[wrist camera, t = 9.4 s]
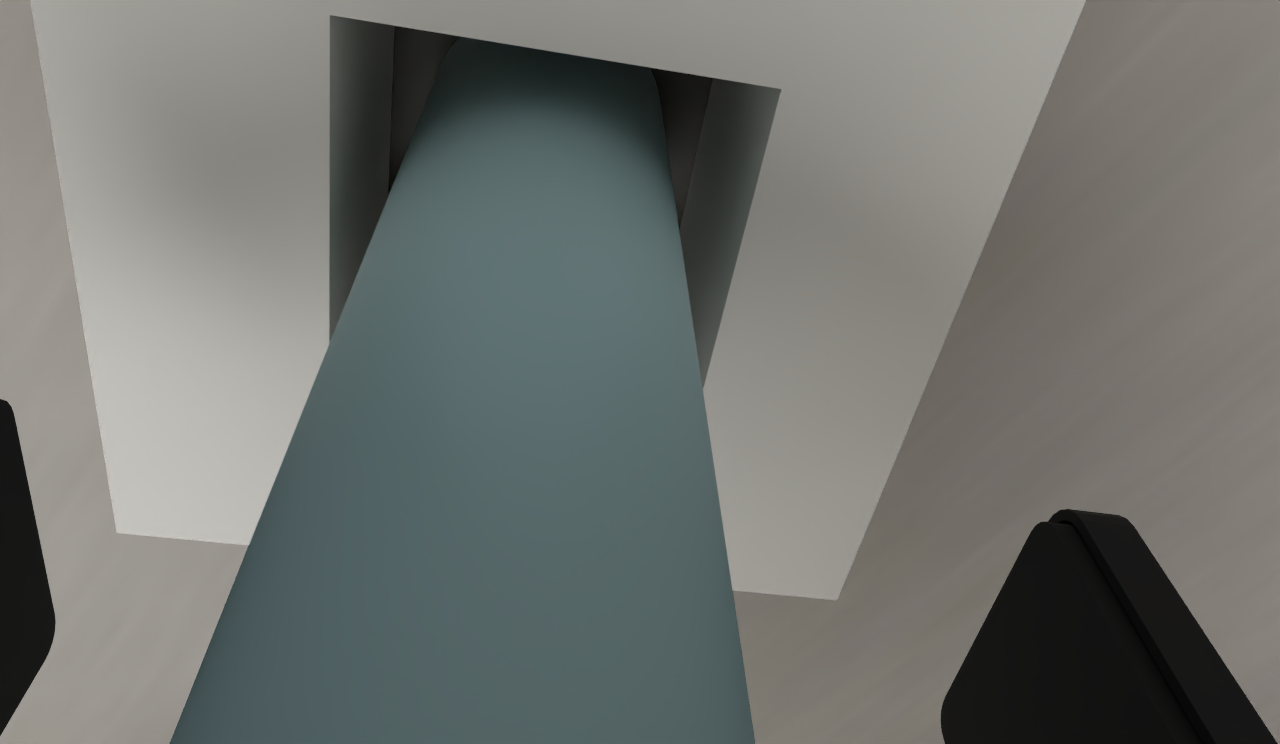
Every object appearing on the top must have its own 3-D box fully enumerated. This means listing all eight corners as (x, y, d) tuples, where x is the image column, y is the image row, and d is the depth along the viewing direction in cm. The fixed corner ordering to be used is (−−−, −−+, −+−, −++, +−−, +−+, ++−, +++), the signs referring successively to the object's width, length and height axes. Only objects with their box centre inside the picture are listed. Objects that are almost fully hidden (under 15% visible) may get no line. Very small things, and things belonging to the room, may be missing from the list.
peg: (681, 22, 17) (871, 806, 5) (640, 235, 19) (706, 1112, 7) (438, -19, 16) (43, 751, 5) (425, 205, 18) (139, 1096, 7)
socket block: (996, -202, 15) (1152, -159, 11) (789, 425, 22) (837, 600, 17) (156, -379, 13) (-36, -407, 9) (214, 358, 20) (117, 533, 16)
